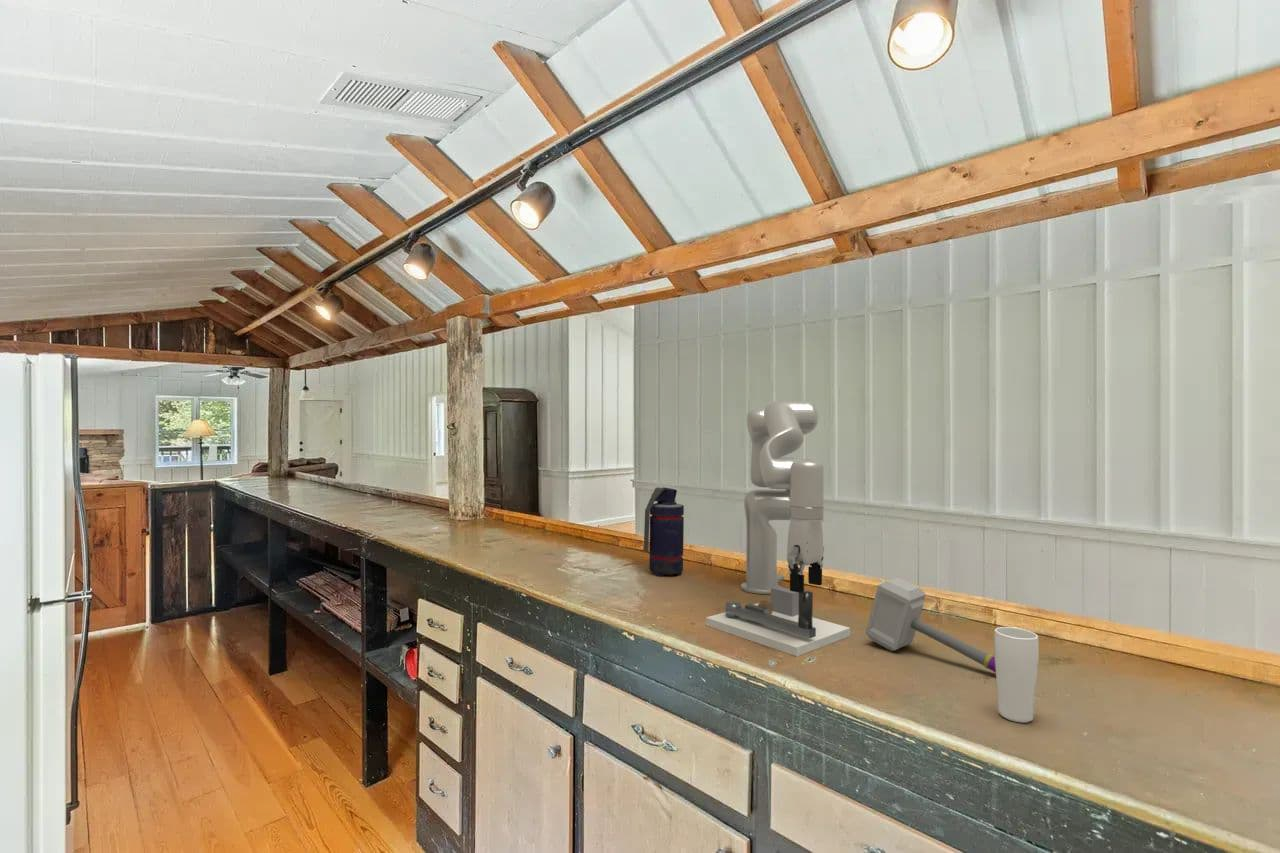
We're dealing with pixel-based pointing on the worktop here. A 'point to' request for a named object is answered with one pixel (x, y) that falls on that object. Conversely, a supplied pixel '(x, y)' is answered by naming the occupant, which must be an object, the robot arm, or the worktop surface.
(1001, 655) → the drinking glass
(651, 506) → the grenade
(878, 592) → the hammer
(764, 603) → the walnut
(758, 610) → the lever
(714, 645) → the worktop surface
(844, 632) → the base
